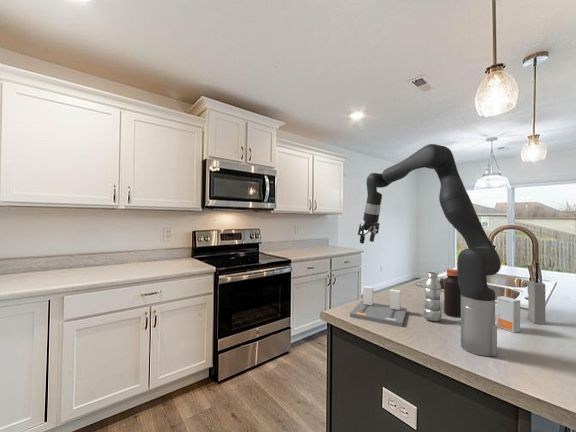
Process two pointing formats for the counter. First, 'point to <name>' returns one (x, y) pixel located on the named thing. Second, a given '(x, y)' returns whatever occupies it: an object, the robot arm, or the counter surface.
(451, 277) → the vinegar
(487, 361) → the counter surface
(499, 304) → the skincare box
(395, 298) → the tab inner
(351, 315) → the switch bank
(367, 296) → the block
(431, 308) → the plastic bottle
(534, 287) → the vintage mobile phone
